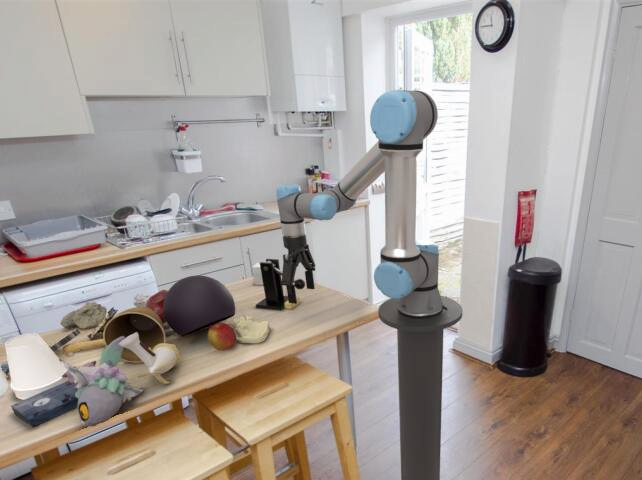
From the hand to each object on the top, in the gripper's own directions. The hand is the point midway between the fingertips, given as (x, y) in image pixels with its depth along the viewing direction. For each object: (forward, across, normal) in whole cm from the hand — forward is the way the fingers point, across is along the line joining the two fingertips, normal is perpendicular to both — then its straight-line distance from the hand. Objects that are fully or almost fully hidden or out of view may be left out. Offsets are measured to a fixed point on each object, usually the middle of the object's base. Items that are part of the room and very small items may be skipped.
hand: (302, 295), depth 158 cm
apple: (+4, +31, -10) cm, 33 cm away
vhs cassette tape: (+3, +66, -35) cm, 74 cm away
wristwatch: (+3, +64, -57) cm, 86 cm away
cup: (-10, +64, -41) cm, 77 cm away
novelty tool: (+4, +26, -31) cm, 41 cm away
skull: (-1, +15, -48) cm, 50 cm away
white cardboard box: (+4, -19, -27) cm, 33 cm away
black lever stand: (+4, 0, -11) cm, 12 cm away
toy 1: (+3, +49, -58) cm, 75 cm away
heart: (+2, +22, -45) cm, 50 cm away
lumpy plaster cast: (+5, +25, -6) cm, 26 cm away
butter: (+4, 0, -4) cm, 6 cm away
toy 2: (-2, +63, -24) cm, 67 cm away
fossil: (-2, +26, -62) cm, 67 cm away
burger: (-2, +36, -50) cm, 62 cm away
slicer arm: (-5, 0, -6) cm, 8 cm away
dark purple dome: (0, +28, -17) cm, 33 cm away
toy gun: (-9, +51, -19) cm, 55 cm away
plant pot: (-2, +33, -36) cm, 49 cm away
